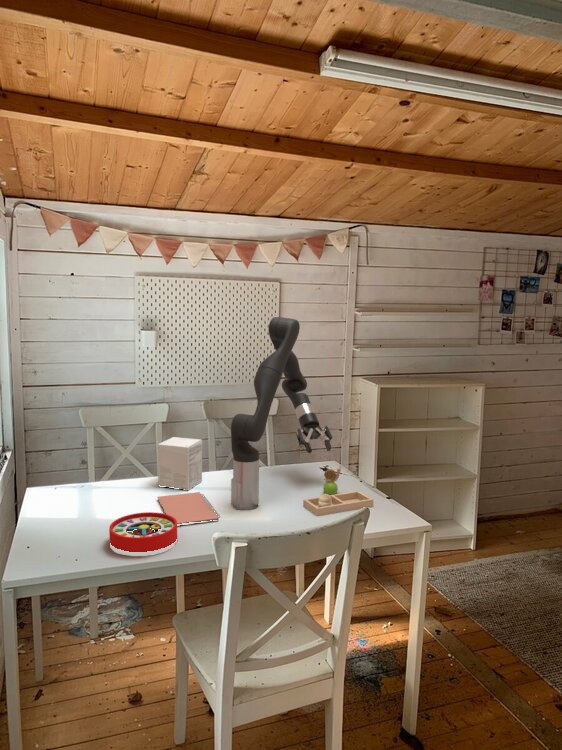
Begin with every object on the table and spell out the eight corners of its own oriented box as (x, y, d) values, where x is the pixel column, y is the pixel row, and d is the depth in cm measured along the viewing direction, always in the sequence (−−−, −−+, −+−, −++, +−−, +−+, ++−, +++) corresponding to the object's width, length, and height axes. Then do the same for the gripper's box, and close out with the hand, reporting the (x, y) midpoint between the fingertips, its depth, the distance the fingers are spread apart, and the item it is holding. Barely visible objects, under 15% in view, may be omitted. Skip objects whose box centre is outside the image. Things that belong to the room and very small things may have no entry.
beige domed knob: (322, 511, 197) (322, 496, 197) (316, 507, 201) (316, 492, 201) (333, 509, 199) (334, 495, 198) (327, 505, 203) (327, 491, 203)
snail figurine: (340, 498, 214) (341, 467, 212) (323, 497, 214) (324, 466, 212) (339, 493, 219) (340, 463, 218) (322, 492, 219) (323, 462, 218)
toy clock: (174, 510, 184) (180, 534, 165) (174, 527, 185) (180, 553, 166) (110, 515, 179) (108, 541, 160) (110, 532, 180) (108, 561, 161)
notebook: (222, 522, 190) (222, 516, 190) (171, 529, 184) (171, 523, 184) (202, 496, 215) (202, 491, 215) (157, 501, 209) (157, 496, 209)
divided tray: (316, 518, 193) (317, 508, 193) (303, 508, 202) (303, 499, 202) (373, 509, 203) (373, 499, 203) (357, 499, 212) (358, 490, 212)
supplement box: (203, 481, 231) (202, 439, 229) (188, 491, 218) (188, 447, 216) (173, 477, 235) (173, 436, 233) (157, 487, 222) (157, 443, 220)
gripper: (294, 413, 226) (307, 448, 217) (325, 410, 232) (339, 444, 224) (288, 423, 231) (300, 458, 223) (318, 420, 238) (332, 454, 229)
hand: (320, 451), depth 223 cm, fingers open, 8 cm apart
